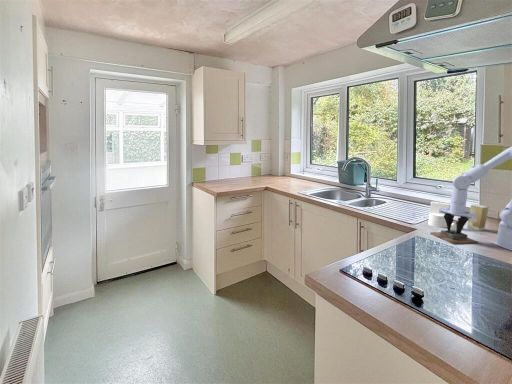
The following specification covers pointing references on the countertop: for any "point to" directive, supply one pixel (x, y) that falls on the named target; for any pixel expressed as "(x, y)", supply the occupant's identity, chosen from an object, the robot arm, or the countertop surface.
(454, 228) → the clear glass cylinder
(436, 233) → the dock
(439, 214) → the cylinder with rectangular tab
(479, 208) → the skincare box
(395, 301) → the countertop surface
